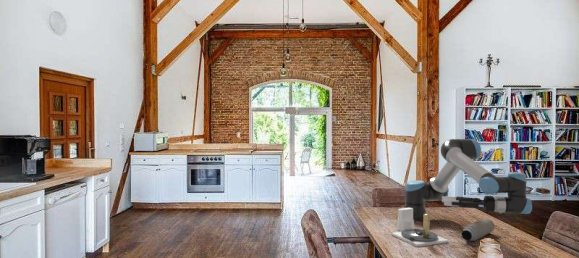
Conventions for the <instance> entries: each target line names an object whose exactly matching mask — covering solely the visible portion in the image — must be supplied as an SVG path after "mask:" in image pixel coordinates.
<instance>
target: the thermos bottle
mask: <svg viewBox="0 0 579 258" xmlns="http://www.w3.org/2000/svg"><path fill="white" fill-rule="evenodd" d="M494 230H495V223H494V222H493V221H492V220H491V219H489V218H486V217H485V218H481V219H480V220H477V221H474V222H473V223H470V224H467V225H465V226H464V227H463V228H462V232H461V237H462V239H463V240H465V241H470V242H474V241H477V240H478V239H481V238H483V237H484V236H486V235H489V234H490V233H492V232H493V231H494Z"/></svg>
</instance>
